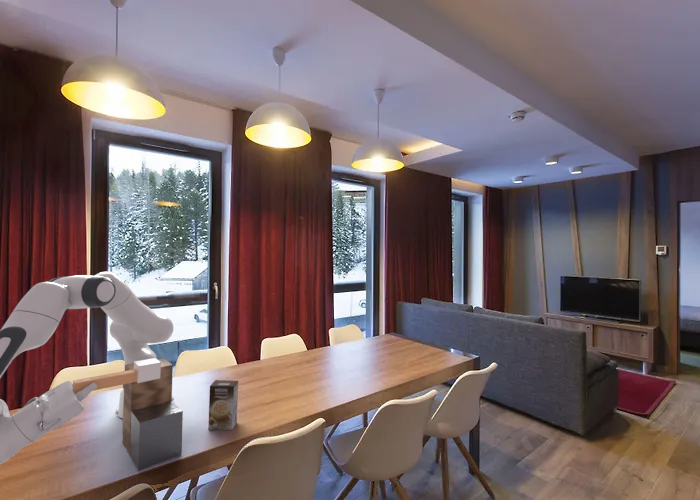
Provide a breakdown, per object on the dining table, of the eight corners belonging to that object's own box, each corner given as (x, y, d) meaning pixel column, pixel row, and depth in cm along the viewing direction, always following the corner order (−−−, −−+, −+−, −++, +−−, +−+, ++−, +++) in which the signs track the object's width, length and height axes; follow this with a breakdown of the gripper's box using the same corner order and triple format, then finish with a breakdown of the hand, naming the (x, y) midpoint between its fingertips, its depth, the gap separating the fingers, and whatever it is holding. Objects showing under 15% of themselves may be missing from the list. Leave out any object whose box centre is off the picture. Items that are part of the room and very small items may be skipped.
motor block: (138, 471, 101) (139, 422, 101) (129, 455, 109) (131, 411, 109) (181, 455, 109) (182, 410, 110) (170, 442, 117) (172, 400, 117)
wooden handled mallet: (74, 396, 93) (75, 377, 93) (72, 389, 97) (72, 372, 97) (160, 378, 107) (160, 362, 107) (154, 373, 112) (155, 358, 112)
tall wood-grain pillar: (129, 455, 109) (132, 372, 110) (122, 442, 117) (124, 364, 117) (170, 441, 117) (172, 364, 118) (161, 430, 125) (163, 358, 126)
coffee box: (207, 430, 126) (208, 385, 126) (213, 421, 132) (214, 379, 132) (232, 430, 126) (233, 386, 126) (237, 421, 132) (238, 379, 133)
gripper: (30, 425, 81) (93, 383, 90) (28, 398, 96) (83, 364, 105) (47, 443, 83) (107, 401, 92) (43, 414, 98) (95, 380, 107)
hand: (94, 381), depth 98 cm, fingers closed on wooden handled mallet, 3 cm apart
